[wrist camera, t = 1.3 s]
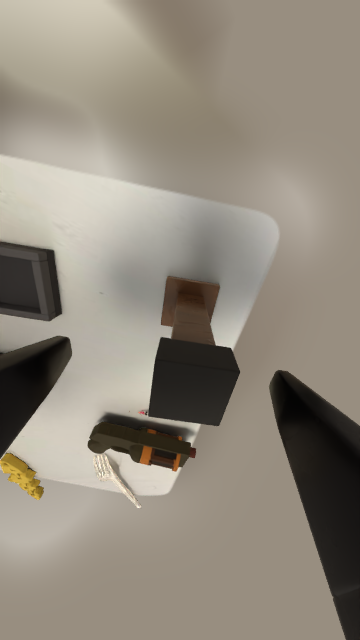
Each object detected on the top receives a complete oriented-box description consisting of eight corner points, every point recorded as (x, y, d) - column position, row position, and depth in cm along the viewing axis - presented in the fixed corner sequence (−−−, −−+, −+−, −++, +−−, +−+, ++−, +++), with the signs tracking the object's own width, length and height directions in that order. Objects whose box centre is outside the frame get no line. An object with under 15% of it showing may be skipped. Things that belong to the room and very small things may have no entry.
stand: (207, 329, 22) (223, 407, 12) (161, 321, 22) (140, 395, 12) (218, 284, 20) (250, 337, 10) (167, 275, 20) (147, 321, 10)
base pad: (61, 313, 22) (49, 321, 20) (0, 304, 22) (-19, 311, 20) (53, 250, 19) (37, 252, 17) (-19, 238, 19) (-43, 239, 17)
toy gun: (181, 487, 32) (196, 469, 26) (82, 464, 31) (74, 440, 25) (184, 455, 35) (197, 433, 30) (95, 434, 35) (92, 407, 29)
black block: (214, 397, 12) (219, 427, 10) (153, 388, 12) (147, 417, 10) (231, 347, 10) (240, 372, 9) (160, 336, 10) (155, 359, 8)
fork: (146, 508, 42) (147, 498, 43) (104, 464, 33) (107, 452, 35) (132, 512, 42) (134, 501, 44) (87, 468, 33) (91, 456, 35)
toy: (29, 491, 42) (50, 492, 42) (25, 499, 41) (46, 499, 41) (-3, 453, 36) (22, 453, 36) (-10, 460, 35) (16, 461, 34)
